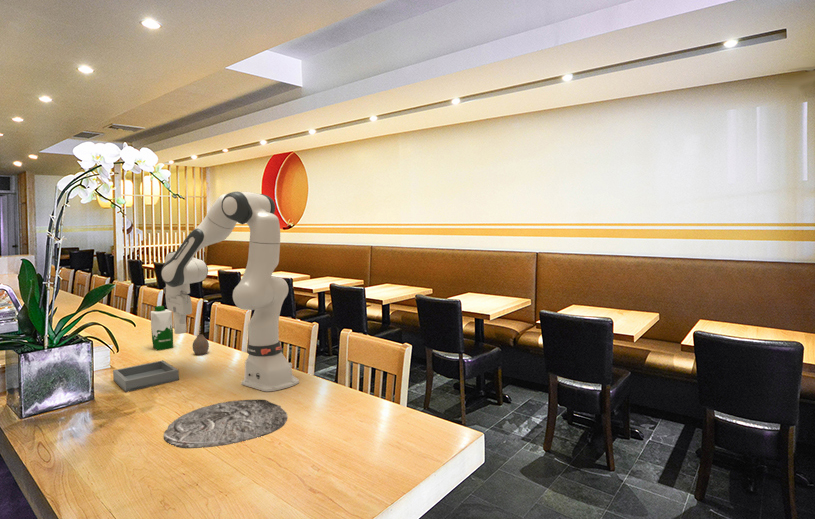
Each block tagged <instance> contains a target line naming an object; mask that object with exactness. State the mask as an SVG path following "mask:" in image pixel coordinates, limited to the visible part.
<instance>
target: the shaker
mask: <svg viewBox="0 0 815 519" xmlns="http://www.w3.org/2000/svg"><path fill="white" fill-rule="evenodd" d="M173 313H174V315H173V328H174V329H173V331H174V334H177V335H179V334H187V331H188V330H187V318H186V319H185V324H180V314H179V313H177V312H176V307H173V311H172V314H173Z"/></svg>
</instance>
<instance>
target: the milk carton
mask: <svg viewBox="0 0 815 519" xmlns="http://www.w3.org/2000/svg"><path fill="white" fill-rule="evenodd" d="M150 327H151V341H152V346H153V347H152V348H153V349H154V350H156V351H163V350H167V349H168V350H169V349H173V348H174V332H173V331H174V329H173V328H174V324H173V311H171V310H168V308H167V309H165V306H164V305H157V306H155V307H154V310H151V311H150Z"/></svg>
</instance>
